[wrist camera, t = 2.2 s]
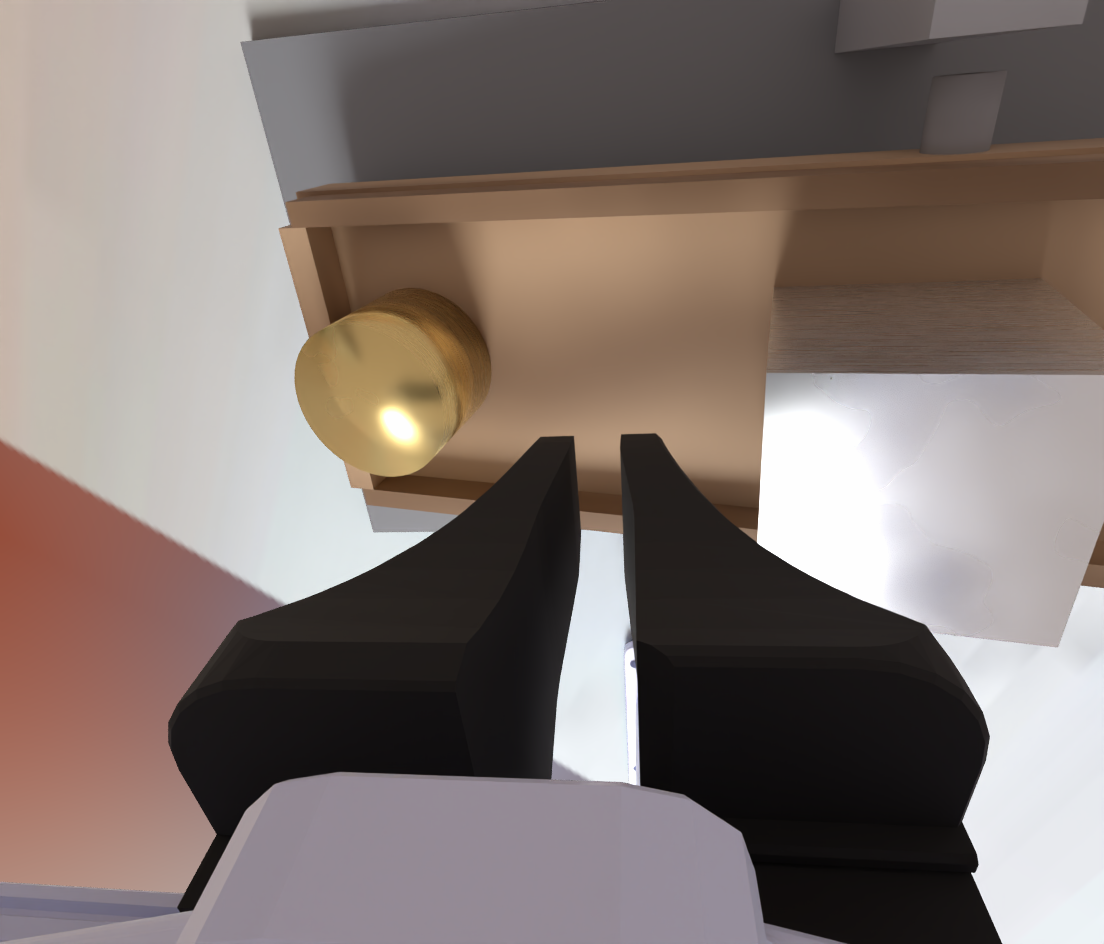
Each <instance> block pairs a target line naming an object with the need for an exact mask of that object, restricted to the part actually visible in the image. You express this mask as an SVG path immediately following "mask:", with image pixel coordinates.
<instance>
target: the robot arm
mask: <svg viewBox="0 0 1104 944" xmlns="http://www.w3.org/2000/svg"><path fill="white" fill-rule="evenodd" d="M620 461H621V489H622V517H623V545H624V573H625V583H626V591H627V599H628V608H629V616H630V624H631V632H632V640H633V641H631V642H629V643H627V644H626V645H625V647H624V670H625V695H626V720H627V746H628V771H629V782H630V784H628V783H623V782H604V781H575V780H551V775H552V761H553V746H554V733H555V720H556V707H557V697H558V689H559V682H560V675H561V670H562V664H563V659H564V654H565V648H566V643H567V637H568V632H569V627H570V621H571V616H572V610H573V605H574V599H575V594H576V588H577V583H578V577H579V563H580V543H581V522H580V509H579V495H578V482H577V469H576V455H575V442H574V436H548V437H540V438H539V439H538V440H537V441H536V442H535V443H534V444H533V445H532V446H531V447H530V448H529V449H528V450H527V451H526V452H525V453H524V454H523V455H522V456H521V457H520V458H519V459H518V461H517V462H516V463H515V464H514V465H513V466H512V467H511V468H510V469H509V470H508V471H507V472H506V473H505V474H504V475H503V476H502V477H501V478H500V479H499V480H498V481H497V482H496V483H495V484H494V485H493V486H492V487H491V488H490V489H489V490H487V491H486V492H485V493H484V494H483V495H482V496H481V497H479V498H478V499H477V500H476V501H475V502H474V503H473V504H471V505H470V506H469V507H468V508H467V509H466V510H465V511H463V512H462V513H461V514H459V515H458V516H457V517H456V518H454V519H453V520H452V521H450V522H449V523H448V524H446V525H445V526H443V527H442V528H440V529H439V530H438V531H436V532H435V533H433V534H432V535H430V536H429V537H427V538H426V539H424V540H423V541H421V542H420V543H418V544H416V545H415V546H413V547H411V548H409V549H407V550H406V551H404V552H402V553H400V554H399V555H397V556H395V557H393V558H391V559H390V560H388V561H386V562H384V563H383V564H381V565H379V566H377V567H375V568H373V569H371V570H369V571H367V572H365V573H363V574H361V575H359V576H357V577H355V578H352V579H350V580H348V581H346V582H344V583H341V584H339V585H337V586H334V587H332V588H330V589H327V590H325V591H323V592H320V593H318V594H315V595H313V596H310V597H307V598H305V599H302V600H299V601H296V602H293V603H291V604H288V605H285V606H282V607H279V608H276V609H274V610H270V611H267V612H265V613H262V614H259V615H256V616H253V617H250V618H247V619H243V620H240V621H238V622H237V623H236V625H235V626H234V627H233V629H232V630H231V631H230V632H229V634H228V635H227V636H226V638H225V639H224V641H223V642H222V643H221V645H220V646H219V648H218V649H217V650H216V652H215V653H214V654H213V656H212V657H211V659H210V660H209V661H208V663H207V664H206V666H205V667H204V668H203V670H202V671H201V672H200V674H199V675H198V677H197V678H196V679H195V681H194V682H193V683H192V685H191V686H190V688H189V689H188V690H187V692H186V693H185V694H184V696H183V697H182V699H181V700H180V701H179V703H178V704H177V706H176V708H175V710H174V712H173V714H172V716H171V718H170V720H169V722H168V743H169V746H170V749H171V751H172V754H173V756H174V759H175V761H176V763H177V766H178V769H179V771H180V772H181V774H182V776H183V778H184V779H185V781H186V783H187V784H188V786H189V788H190V789H191V791H192V793H193V794H194V796H195V798H196V800H197V801H198V803H199V805H200V807H201V808H202V810H203V812H204V813H205V815H206V817H207V818H208V820H209V822H210V824H211V825H212V827H213V829H214V830H215V832H216V834H217V835H216V837H215V839H214V840H213V842H212V844H211V846H210V848H209V850H208V852H207V853H206V855H205V857H204V859H203V861H202V862H201V864H200V866H199V868H198V870H197V872H196V874H195V875H194V877H193V879H192V881H191V883H190V884H189V886H188V888H187V890H186V892H185V893H170V892H153V891H137V890H121V889H105V888H90V887H74V886H58V885H41V884H25V883H10V882H0V944H1002V942H1001V940H1000V938H999V936H998V933H997V931H996V929H995V926H994V924H993V922H992V920H991V917H990V915H989V913H988V910H987V908H986V906H985V904H984V901H983V899H982V897H981V895H980V892H979V890H978V888H977V885H976V883H975V881H974V879H973V876H972V874H971V872H972V873H975V872H976V870H977V867H978V858H977V853H976V851H975V849H974V847H973V845H972V842H971V840H970V838H969V836H968V834H967V832H966V829H965V827H964V825H963V823H962V820H963V818H964V815H965V812H966V810H967V807H968V805H969V802H970V800H971V797H972V795H973V792H974V789H975V787H976V784H977V782H978V779H979V777H980V774H981V772H982V769H983V766H984V764H985V761H986V756H987V750H988V745H989V739H990V735H989V732H988V728H987V725H986V721H985V718H984V714H983V712H982V710H981V708H980V706H979V705H978V703H977V701H976V699H975V698H974V696H973V694H972V692H971V691H970V689H969V687H968V685H967V684H966V682H965V680H964V679H963V677H962V676H961V674H960V672H959V671H958V669H957V668H956V666H955V665H954V663H953V662H952V660H951V659H950V657H949V656H948V655H947V653H946V652H945V651H944V649H943V648H942V647H941V645H940V644H939V643H938V642H937V640H936V639H935V638H934V636H933V635H932V633H931V632H930V630H929V629H928V627H927V626H926V625H925V624H923V623H920V622H918V621H915V620H913V619H910V618H907V617H905V616H902V615H900V614H897V613H895V612H892V611H889V610H887V609H884V608H882V607H879V606H876V605H874V604H871V603H869V602H866V601H864V600H861V599H859V598H856V597H854V596H852V595H850V594H848V593H846V592H844V591H841V590H839V589H837V588H835V587H833V586H831V585H829V584H827V583H825V582H823V581H821V580H819V579H817V578H815V577H813V576H811V575H810V574H808V573H806V572H804V571H802V570H800V569H799V568H797V567H795V566H793V565H792V564H790V563H789V562H787V561H785V560H784V559H782V558H781V557H779V556H777V555H776V554H774V553H772V552H771V551H769V550H768V549H766V548H765V547H763V546H762V545H760V544H759V543H758V542H756V541H755V540H753V539H752V538H751V537H749V536H748V535H747V534H746V533H744V532H743V531H742V530H740V529H739V528H738V527H737V526H735V525H734V524H733V523H732V522H730V521H729V520H728V519H727V518H726V517H725V516H724V515H723V514H722V513H721V512H720V511H719V510H718V509H717V508H716V507H715V506H714V505H713V504H712V503H711V502H710V501H709V500H708V499H707V498H706V497H705V496H704V495H703V494H702V493H701V492H700V491H699V489H698V488H697V487H696V486H695V485H694V484H693V482H692V481H691V480H690V479H689V478H688V476H687V475H686V474H685V473H684V471H683V470H682V469H681V468H680V466H679V465H678V464H677V462H676V461H675V459H674V458H673V457H672V455H671V454H670V452H669V450H668V449H667V447H666V446H665V444H664V442H663V440H662V438H660V437H659V436H658V435H657V434H656V433H646V434H621V440H620ZM632 660H635V661H632Z"/></svg>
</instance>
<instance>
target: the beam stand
mask: <svg viewBox="0 0 1104 944" xmlns="http://www.w3.org/2000/svg"><path fill="white" fill-rule="evenodd" d="M241 46H242V50H243V53H244V57H245V61H246V64H247V68H248V72H249V75H250V79H251V83H252V86H253V90H254V94H255V98H256V101H257V105H258V109H259V112H260V116H261V120H262V123H263V127H264V131H265V134H266V138H267V142H268V145H269V149H270V153H271V156H272V160H273V164H274V168H275V171H276V175H277V179H278V182H279V186H280V190H281V193H282V197H283V201H284V204H285V202H288V201H291V200H295V199H297V196H296V192H298V191H302V190H306V189H310V188H315V187H319V186H323V185H327V184H335V183H352V182H369V181H386V180H402V179H419V178H436V177H453V176H470V175H487V174H504V173H520V172H537V171H554V170H571V169H588V168H605V167H622V166H638V165H655V164H672V163H689V162H706V161H723V160H740V159H756V158H773V157H790V156H807V155H824V154H841V153H858V152H874V151H891V150H908V149H920V146H921V140H922V135H923V129H924V123H925V118H926V112H927V107H928V101H929V96H930V90H931V84H932V79H933V77H935V76H943V75H953V74H964V73H976V72H989V71H1007V76H1006V80H1005V85H1004V89H1003V93H1002V98H1001V102H1000V106H999V111H998V115H997V120H996V124H995V128H994V133H993V137H992V142H991V145H992V144H1009V143H1026V142H1043V141H1060V140H1077V139H1094V138H1104V0H605V1H596V2H587V3H578V4H570V5H561V6H552V7H543V8H535V9H526V10H517V11H508V12H499V13H491V14H482V15H473V16H464V17H456V18H447V19H438V20H429V21H420V22H412V23H403V24H394V25H385V26H377V27H368V28H359V29H350V30H341V31H333V32H324V33H315V34H306V35H298V36H289V37H280V38H271V39H262V40H254V41H245V42H241ZM285 208H286V204H285ZM286 212H287V208H286ZM287 215H288V212H287ZM288 219H289V216H288ZM289 223H290V219H289ZM290 225H291V223H290ZM362 492H363V489H362ZM363 495H364V493H363ZM364 499H365V496H364ZM365 503H366V500H365ZM366 506H367V510H368V514H369V517H370V521H371V525H372V529H373V532H435V531H438V530H439V529H440V528H442V527H443V526H445V525H446V524H448V523H449V522H450V521H452V520H453V519H454V518H456V517H457V516H458V515H451V514H443V513H434V512H425V511H416V510H407V509H398V508H389V507H380V506H372V505H367V504H366ZM581 530H585V529H581Z"/></svg>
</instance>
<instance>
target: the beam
mask: <svg viewBox="0 0 1104 944" xmlns="http://www.w3.org/2000/svg"><path fill="white" fill-rule="evenodd" d="M1006 76H1007V71H989V72H976V73H964V74H953V75H943V76H935V77H933V79H932V84H931V90H930V96H929V101H928V107H927V112H926V118H925V123H924V129H923V135H922V140H921V146H920V149H908V150H891V151H874V152H858V153H841V154H824V155H807V156H790V157H773V158H756V159H740V160H723V161H706V162H689V163H672V164H655V165H638V166H622V167H605V168H588V169H571V170H554V171H537V172H520V173H504V174H487V175H470V176H453V177H436V178H419V179H402V180H386V181H369V182H352V183H335V184H327V185H323V186H319V187H315V188H310V189H306V190H302V191H298V192H296V196H297V199H295V200H291V201H288V202H285V204H286V208H287V212H288V216H289V219H290V223H291V225H289V226H285V227H282V228H279V232H280V235H281V239H282V243H283V246H284V250H285V253H286V257H287V260H288V264H289V268H290V271H291V275H292V278H293V282H294V285H295V289H296V292H297V296H298V300H299V303H300V307H301V310H302V314H303V317H304V321H305V325H306V328H307V332H308V335H309V338H310V337H311V336H313V335H314V334H315V333H317V332H318V331H320V330H322V329H323V328H325V327H327V326H329V325H331V324H332V323H334V322H336V321H338V320H340V319H341V318H343V317H345V316H347V315H349V314H351V313H352V312H354V311H356V310H358V309H360V308H361V307H363V306H365V305H367V304H369V303H370V302H372V301H374V300H376V299H378V298H379V297H381V296H383V295H385V294H387V293H389V292H391V291H394V290H398V289H402V288H419V289H424V290H429V291H432V292H435V293H437V294H439V295H441V296H443V297H445V298H447V299H449V300H450V301H452V302H453V303H455V304H456V305H457V306H459V307H460V308H461V309H462V310H463V311H464V312H465V313H466V314H467V315H468V316H469V317H470V318H471V319H472V321H473V322H474V323H475V325H476V326H477V328H478V329H479V331H480V333H481V334H482V336H483V338H484V341H485V343H486V345H487V348H488V352H489V355H490V360H491V371H492V373H491V383H490V388H489V391H488V394H487V396H486V398H485V400H484V402H483V404H482V405H481V406H480V407H479V409H478V410H477V411H476V412H475V413H474V414H473V415H472V416H471V418H470V419H469V420H468V421H467V422H466V423H465V424H464V425H463V426H462V427H461V428H460V429H459V430H458V432H457V433H456V434H455V435H454V436H453V437H452V438H451V439H450V440H449V441H448V442H447V443H446V445H445V446H444V447H443V448H442V449H441V450H440V451H439V452H438V453H437V454H436V455H435V456H434V458H433V459H432V460H431V461H430V462H429V463H428V464H426V465H425V466H424V467H423V468H421V469H420V470H418V471H416V472H413V473H411V474H408V475H404V476H396V477H388V476H379V475H374V474H371V473H367V472H365V471H362V470H360V469H357V468H355V467H353V466H352V465H350V464H348V463H346V462H345V461H344V464H345V467H346V471H347V474H348V478H349V481H350V485H351V487H352V488H362V489H363V493H364V496H365V500H366V504H367V505H372V506H380V507H389V508H398V509H407V510H416V511H425V512H434V513H443V514H451V515H459V514H461V513H462V512H463V511H465V510H466V509H467V508H468V507H469V506H470V505H471V504H473V503H474V502H475V501H476V500H477V499H478V498H479V497H481V496H482V495H483V494H484V493H485V492H486V491H487V490H489V489H490V488H491V487H492V486H493V485H494V484H495V483H496V482H497V481H498V480H499V479H500V478H501V477H502V476H503V475H504V474H505V473H506V472H507V471H508V470H509V469H510V468H511V467H512V466H513V465H514V464H515V463H516V462H517V461H518V459H519V458H520V457H521V456H522V455H523V454H524V453H525V452H526V451H527V450H528V449H529V448H530V447H531V446H532V445H533V444H534V443H535V442H536V441H537V440H538V439H539V438H540V437H548V436H574V442H575V455H576V469H577V482H578V495H579V509H580V522H581V529H585V530H594V531H602V532H611V533H620V534H623V517H622V489H621V461H620V440H621V434H646V433H656V434H657V435H658V436H659V437H660V438H662V440H663V442H664V444H665V446H666V447H667V449H668V450H669V452H670V454H671V455H672V457H673V458H674V459H675V461H676V462H677V464H678V465H679V466H680V468H681V469H682V470H683V471H684V473H685V474H686V475H687V476H688V478H689V479H690V480H691V481H692V482H693V484H694V485H695V486H696V487H697V488H698V489H699V491H700V492H701V493H702V494H703V495H704V496H705V497H706V498H707V499H708V500H709V501H710V502H711V503H712V504H713V505H714V506H715V507H716V508H717V509H718V510H719V511H720V512H721V513H722V514H723V515H724V516H725V517H726V518H727V519H728V520H729V521H730V522H732V523H733V524H734V525H735V526H737V527H738V528H739V529H740V530H742V531H743V532H744V533H746V534H747V535H748V536H749V537H751V538H752V539H753V540H755V541H756V542H758V526H759V506H760V486H761V467H762V447H763V427H764V408H765V388H766V370H767V359H768V347H769V336H770V324H771V313H772V301H773V290H774V287H793V286H824V285H854V284H885V283H915V282H946V281H976V280H1007V279H1037V278H1042V279H1043V280H1045V281H1046V282H1047V283H1048V284H1049V285H1050V286H1052V287H1053V288H1054V289H1055V290H1056V291H1058V292H1059V293H1060V294H1061V295H1062V296H1064V297H1065V298H1066V299H1067V300H1068V301H1070V302H1071V303H1072V304H1073V305H1074V306H1075V307H1077V308H1078V309H1079V310H1080V311H1081V312H1083V313H1084V314H1085V315H1086V316H1087V317H1089V318H1090V319H1091V320H1092V321H1093V322H1094V323H1096V324H1097V325H1098V326H1099V327H1100V328H1102V329H1103V330H1104V138H1094V139H1077V140H1060V141H1043V142H1026V143H1009V144H992V145H991V142H992V137H993V133H994V128H995V124H996V120H997V115H998V111H999V106H1000V102H1001V98H1002V93H1003V89H1004V85H1005V80H1006ZM1081 585H1082V586H1091V587H1100V588H1104V523H1103V525H1102V528H1101V531H1100V534H1099V536H1098V539H1097V542H1096V544H1095V547H1094V550H1093V553H1092V555H1091V558H1090V561H1089V564H1088V566H1087V569H1086V572H1085V574H1084V577H1083V580H1082V583H1081Z"/></svg>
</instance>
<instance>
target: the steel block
mask: <svg viewBox="0 0 1104 944" xmlns="http://www.w3.org/2000/svg"><path fill="white" fill-rule="evenodd" d="M1103 523H1104V330H1103V329H1102V328H1100V327H1099V326H1098V325H1097V324H1096V323H1094V322H1093V321H1092V320H1091V319H1090V318H1089V317H1087V316H1086V315H1085V314H1084V313H1083V312H1081V311H1080V310H1079V309H1078V308H1077V307H1075V306H1074V305H1073V304H1072V303H1071V302H1070V301H1068V300H1067V299H1066V298H1065V297H1064V296H1062V295H1061V294H1060V293H1059V292H1058V291H1056V290H1055V289H1054V288H1053V287H1052V286H1050V285H1049V284H1048V283H1047V282H1046V281H1045V280H1043V279H1042V278H1037V279H1007V280H976V281H946V282H915V283H885V284H854V285H824V286H793V287H774V290H773V301H772V313H771V324H770V336H769V347H768V359H767V370H766V388H765V408H764V427H763V447H762V467H761V486H760V506H759V526H758V543H759V544H760V545H762V546H763V547H765V548H766V549H768V550H769V551H771V552H772V553H774V554H776V555H777V556H779V557H781V558H782V559H784V560H785V561H787V562H789V563H790V564H792V565H793V566H795V567H797V568H799V569H800V570H802V571H804V572H806V573H808V574H810V575H811V576H813V577H815V578H817V579H819V580H821V581H823V582H825V583H827V584H829V585H831V586H833V587H835V588H837V589H839V590H841V591H844V592H846V593H848V594H850V595H852V596H854V597H856V598H859V599H861V600H864V601H866V602H869V603H871V604H874V605H876V606H879V607H882V608H884V609H887V610H889V611H892V612H895V613H897V614H900V615H902V616H905V617H907V618H910V619H913V620H915V621H918V622H920V623H923V624H925V625H926V626H927V627H928V629H929V630H930V632H931V633H939V634H948V635H956V636H965V637H973V638H982V639H990V640H999V641H1008V642H1016V643H1025V644H1033V645H1042V646H1050V647H1058V645H1059V643H1060V640H1061V637H1062V635H1063V632H1064V629H1065V626H1066V624H1067V621H1068V618H1069V615H1070V613H1071V610H1072V607H1073V605H1074V602H1075V599H1076V596H1077V594H1078V591H1079V588H1080V585H1081V583H1082V580H1083V577H1084V574H1085V572H1086V569H1087V566H1088V564H1089V561H1090V558H1091V555H1092V553H1093V550H1094V547H1095V544H1096V542H1097V539H1098V536H1099V534H1100V531H1101V528H1102V525H1103Z"/></svg>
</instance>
